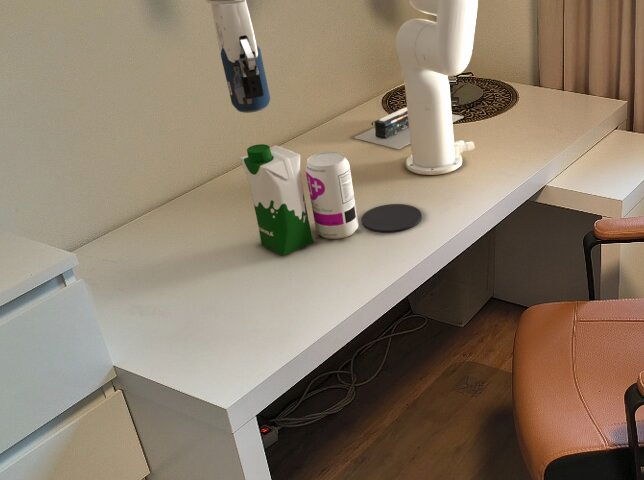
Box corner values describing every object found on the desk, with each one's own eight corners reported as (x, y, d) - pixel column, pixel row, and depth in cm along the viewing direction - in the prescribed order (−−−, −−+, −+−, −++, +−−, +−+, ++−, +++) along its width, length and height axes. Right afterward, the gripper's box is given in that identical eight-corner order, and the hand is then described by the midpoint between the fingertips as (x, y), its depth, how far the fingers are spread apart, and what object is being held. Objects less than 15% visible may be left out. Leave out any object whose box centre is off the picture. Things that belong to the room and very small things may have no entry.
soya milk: (254, 245, 174) (232, 146, 163) (294, 229, 179) (275, 132, 168) (281, 259, 169) (261, 158, 158) (321, 242, 174) (303, 143, 163)
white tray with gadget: (353, 137, 220) (350, 120, 217) (420, 106, 237) (418, 90, 234) (398, 149, 213) (396, 131, 210) (464, 116, 230) (463, 100, 227)
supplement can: (327, 244, 173) (315, 171, 165) (309, 229, 179) (296, 157, 171) (366, 232, 177) (355, 160, 169) (347, 217, 183) (336, 147, 175)
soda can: (265, 98, 172) (251, 33, 165) (276, 108, 167) (263, 42, 160) (228, 105, 169) (213, 40, 162) (239, 116, 164) (224, 50, 157)
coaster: (407, 201, 189) (407, 199, 188) (431, 222, 180) (431, 220, 180) (352, 215, 184) (352, 213, 183) (375, 238, 175) (374, 235, 175)
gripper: (193, -17, 161) (217, 82, 171) (216, 4, 149) (240, 109, 159) (235, -23, 164) (256, 74, 174) (262, -4, 152) (282, 100, 162)
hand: (249, 90), depth 166 cm, fingers closed on soda can, 7 cm apart
